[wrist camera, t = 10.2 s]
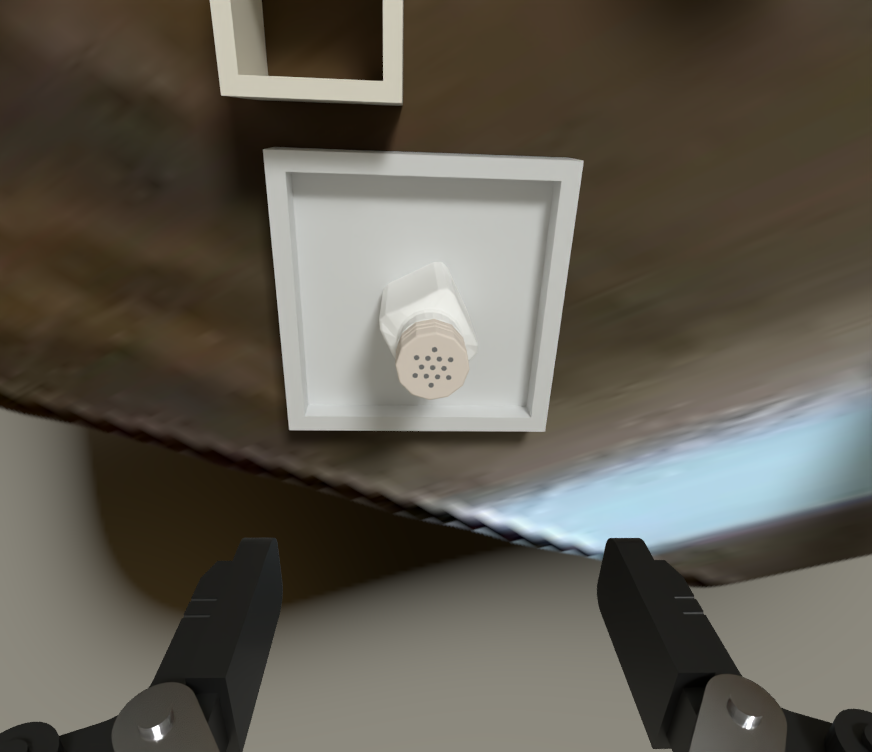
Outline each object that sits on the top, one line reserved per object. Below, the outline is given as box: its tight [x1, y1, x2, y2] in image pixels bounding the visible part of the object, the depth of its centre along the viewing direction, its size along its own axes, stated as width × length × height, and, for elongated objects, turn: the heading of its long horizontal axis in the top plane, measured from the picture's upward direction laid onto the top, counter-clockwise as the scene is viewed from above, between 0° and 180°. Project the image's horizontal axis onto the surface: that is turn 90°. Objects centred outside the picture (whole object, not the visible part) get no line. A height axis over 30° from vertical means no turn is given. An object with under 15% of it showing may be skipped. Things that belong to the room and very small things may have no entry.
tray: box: [263, 147, 584, 432], centre depth 31 cm, size 16×16×2 cm
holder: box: [210, 0, 404, 106], centre depth 24 cm, size 8×8×6 cm
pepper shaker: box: [379, 262, 478, 400], centre depth 27 cm, size 4×4×10 cm
